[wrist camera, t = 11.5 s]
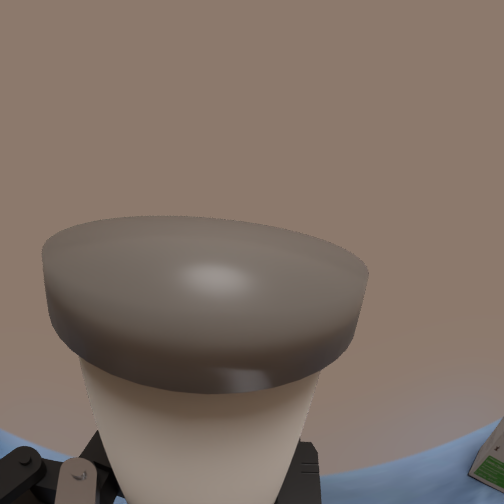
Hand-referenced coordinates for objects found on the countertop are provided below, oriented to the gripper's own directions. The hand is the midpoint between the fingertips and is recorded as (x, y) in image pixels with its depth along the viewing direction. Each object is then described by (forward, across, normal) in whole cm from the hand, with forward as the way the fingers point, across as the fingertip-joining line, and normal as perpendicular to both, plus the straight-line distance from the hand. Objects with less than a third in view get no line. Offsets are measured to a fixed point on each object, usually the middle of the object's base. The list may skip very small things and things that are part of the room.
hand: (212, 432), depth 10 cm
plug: (-3, 0, +10) cm, 10 cm away
